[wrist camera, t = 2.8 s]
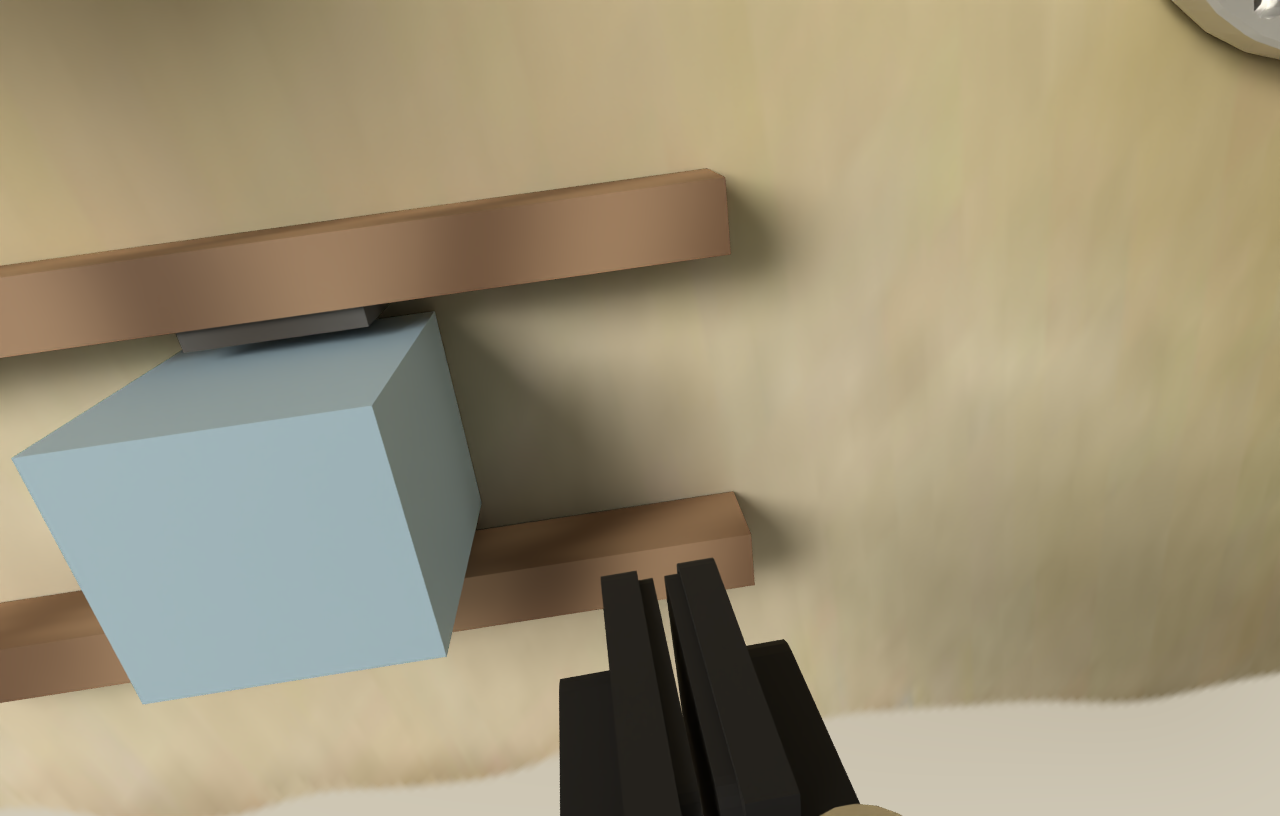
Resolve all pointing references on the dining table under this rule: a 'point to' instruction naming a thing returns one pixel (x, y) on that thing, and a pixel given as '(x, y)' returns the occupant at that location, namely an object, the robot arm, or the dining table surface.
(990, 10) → the dining table surface
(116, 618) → the block
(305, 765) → the dining table surface
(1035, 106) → the dining table surface
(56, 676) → the chute
